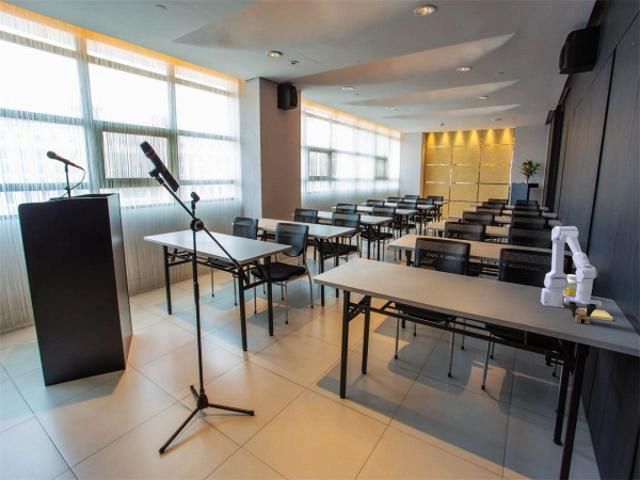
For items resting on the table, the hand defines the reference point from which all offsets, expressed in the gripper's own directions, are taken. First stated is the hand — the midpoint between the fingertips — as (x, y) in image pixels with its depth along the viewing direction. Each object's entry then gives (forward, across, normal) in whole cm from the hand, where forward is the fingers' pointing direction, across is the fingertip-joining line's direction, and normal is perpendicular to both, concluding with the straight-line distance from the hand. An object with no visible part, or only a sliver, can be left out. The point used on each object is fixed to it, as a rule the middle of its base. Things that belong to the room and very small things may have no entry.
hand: (580, 317), depth 166 cm
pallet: (+1, 0, 0) cm, 1 cm away
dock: (+1, +9, +10) cm, 13 cm away
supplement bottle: (+2, +6, +38) cm, 38 cm away
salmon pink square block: (-2, 0, 0) cm, 2 cm away
